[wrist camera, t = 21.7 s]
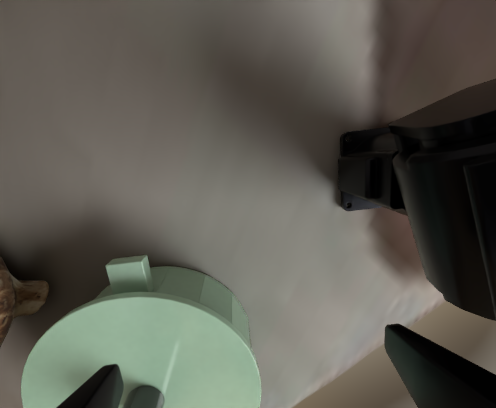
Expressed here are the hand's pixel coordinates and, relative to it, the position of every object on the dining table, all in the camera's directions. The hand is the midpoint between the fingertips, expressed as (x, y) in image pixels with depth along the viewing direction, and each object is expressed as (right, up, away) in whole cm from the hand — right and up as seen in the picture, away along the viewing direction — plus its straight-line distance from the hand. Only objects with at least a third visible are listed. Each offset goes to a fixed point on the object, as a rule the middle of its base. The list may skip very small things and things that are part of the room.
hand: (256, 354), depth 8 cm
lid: (-7, -9, +9) cm, 14 cm away
